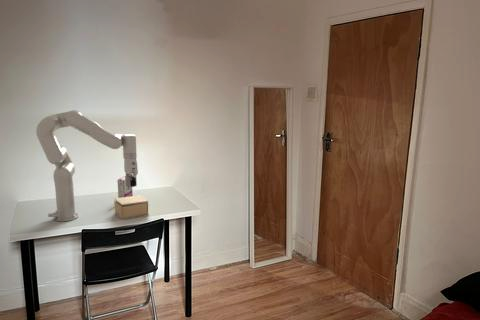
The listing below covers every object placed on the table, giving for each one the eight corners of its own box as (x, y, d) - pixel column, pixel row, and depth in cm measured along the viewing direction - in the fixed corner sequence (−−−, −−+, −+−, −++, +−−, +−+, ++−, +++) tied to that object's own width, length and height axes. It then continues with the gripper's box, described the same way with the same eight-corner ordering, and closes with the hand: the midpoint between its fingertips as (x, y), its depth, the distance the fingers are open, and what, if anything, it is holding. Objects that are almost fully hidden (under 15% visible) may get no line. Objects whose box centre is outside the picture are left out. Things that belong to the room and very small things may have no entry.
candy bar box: (126, 198, 257) (125, 175, 253) (132, 199, 256) (132, 176, 252) (117, 203, 246) (117, 179, 242) (124, 203, 245) (124, 180, 241)
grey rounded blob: (128, 187, 219) (127, 177, 218) (124, 185, 224) (123, 175, 223) (138, 186, 223) (138, 176, 222) (134, 183, 228) (133, 174, 226)
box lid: (122, 205, 215) (122, 204, 215) (114, 199, 225) (114, 198, 225) (148, 202, 225) (148, 200, 225) (139, 196, 235) (139, 195, 235)
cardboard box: (122, 219, 217) (122, 207, 216) (114, 213, 227) (114, 201, 226) (148, 214, 227) (148, 202, 225) (139, 208, 237) (139, 197, 235)
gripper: (141, 157, 215) (142, 187, 219) (130, 152, 228) (131, 180, 232) (129, 158, 211) (130, 188, 214) (118, 153, 224) (119, 182, 228)
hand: (131, 184), depth 223 cm, fingers closed on grey rounded blob, 6 cm apart
